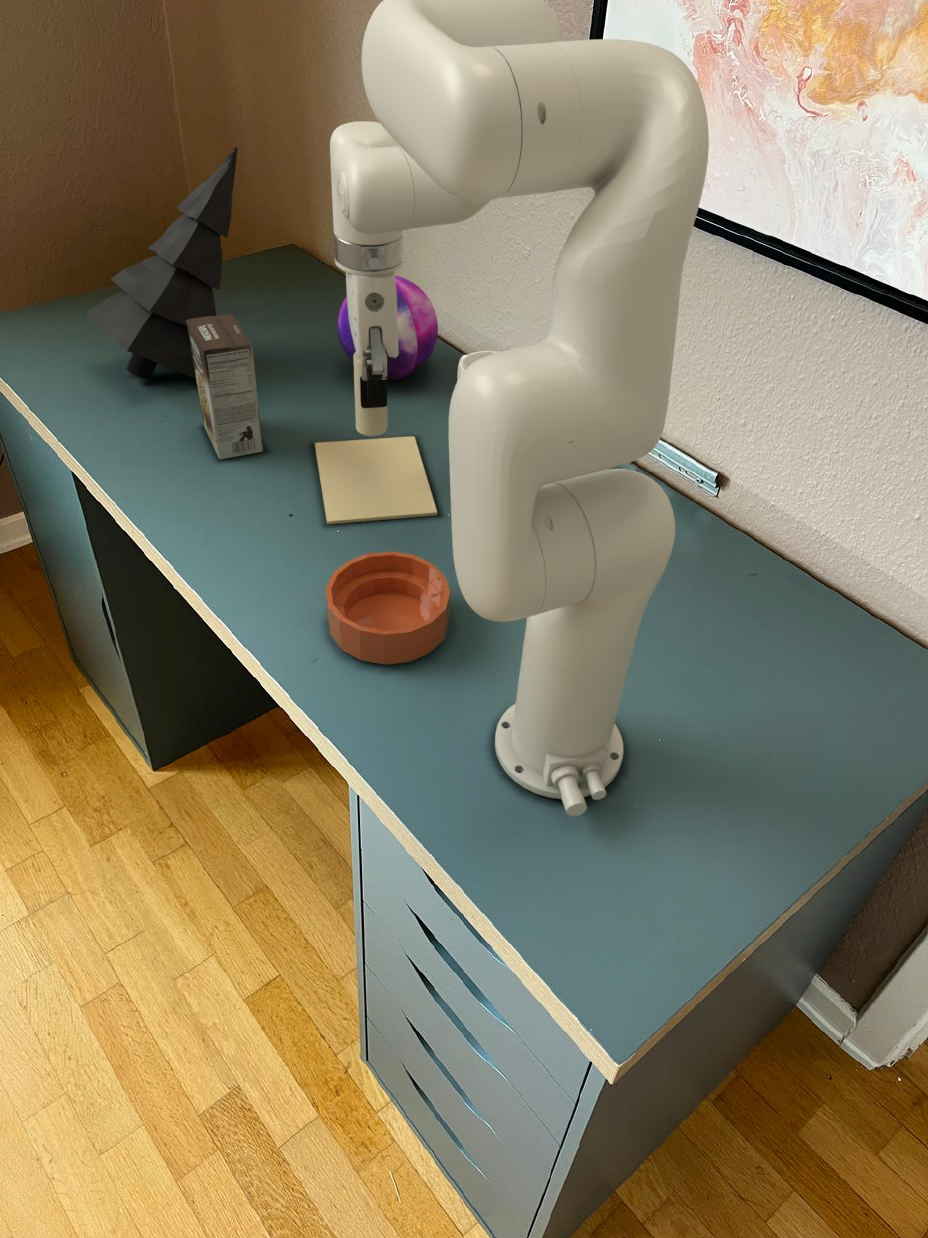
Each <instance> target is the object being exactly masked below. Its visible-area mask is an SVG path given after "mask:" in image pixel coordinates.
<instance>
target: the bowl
mask: <svg viewBox="0 0 928 1238" xmlns="http://www.w3.org/2000/svg"><path fill="white" fill-rule="evenodd" d="M325 600H326V613H327V616H326V617H327V623H328V624H327V625H328V633H329V636H330V637H331V638H332V639H333V641H334V642H335V643H336V645H337V646H338V647H339V649H340V650H342V651H343V652H344V653H346V654H347V655H351V656H352V657H354V658H356V659H358V660H360V661H361V662H362V661H363V662H369V663H374V664H380V665H394V664H401V663H411V662H413V661H415V660H418V659H419V658H421V657H424V656H426V655H429V654H431V653H432V652H433V651H434V649H436V648H437V647H438V646H439V645H440V644H441V643H442V642H443V641H444V639H446V638H445V637H446V634H447V632H448V628H449V624H450V611H451V610H450V609H451V590H450V586H449V583H448V579H447V577H446V575H444V574H443V572H441V570H439V568H438V567H436V565H435V564H434V563H432V562H429V561H427V560H426V559H424V558H421V557H419V556H417V555H415V554H411V553H403V552H397V551H384V552H383V551H382V552H372V553H371V552H370V553H366V554H363V555H361V556H358V557H355V558H353V559H350V560H348V561H346V562H345V563H344V564H342V566H340V567H339V568H338V569H336V571H334V572H333V573H332V574H331V577H330V579H329V581H328V583H327V585H326V588H325Z"/></svg>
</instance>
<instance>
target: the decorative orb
mask: <svg viewBox="0 0 928 1238" xmlns="http://www.w3.org/2000/svg"><path fill="white" fill-rule="evenodd" d="M395 282H396V295H397V321H398V350H399V354H398V356H397V357H396V358H393V357H389V355H388V353H387V351H386V349H385V353H386V355H387V381H389V380H391V381H392V380H399V379H403V378H406V377H409V376H410V375H413V374H414V373H416V372H417V371H419V370H420V369H421V368H422V367H423V366H424V365H425V364H426V363H427V362H428V361H429V359H430V358H431V356H432V354H433V352H434V350H435V347H436V344H437V341H438V336H439V335H438V334H439V324H438V317H437V312H436V309H435V308H434V305H433V302H432V301H431V299H430V297H429V296H428V294H427V293H426V292H425V291H424V290H423V289H422V288H421V287H420V286H419V285H417V284H416V283H414V282H413V281H411V280H409V279H407V278H405V277H402V276H400V275H395ZM337 317H338V318H337V335H338V339H339V343H340V346H341V349H342V350H343V352H344V354H345V356H346V357H347V359H348V360H349V361H350V363H351V364H352V365H353V366H354V353H355V352H356V350H355V346H354V342H353V338H352V333H351V329H350V323H349V316H348V306H347V296H346V297H345V298H344V300H343V302H342V304H341V306H340V309H339V313H338V316H337Z"/></svg>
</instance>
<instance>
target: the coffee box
mask: <svg viewBox="0 0 928 1238" xmlns="http://www.w3.org/2000/svg"><path fill="white" fill-rule="evenodd" d="M186 323H187V328H188V334H189V340H190V345H191V351H192V357H193V363H194V369H195V374H196V378H195V379H196V385H197V391H198V399H199V403H200V409H201V415H202V421H203V427H204V430H205V432H206V434H207V436H208V438H209V440H210V442H211V444H212V447H213V449H214V451H215V454H216V455H217V458H218V459H219V460H225V459H229V458H235V457H240V456H246V455H251V454H258V453H261V452H262V453H263V452H264V447H263V445H264V444H263V437H262V427H261V419H260V409H259V399H258V398H259V397H258V388H257V379H256V371H255V361H254V352H253V344H252V341H251V340H250V338H249V337H248V336H247V333H246V332H245V331H244V329H243V327H242V326H241V324H240V322H239V321H238V318H237V317H236V316H235V314H234V313H229V314H224V315H216V316H207V317H201V318H194V319H189V320H186Z"/></svg>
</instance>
